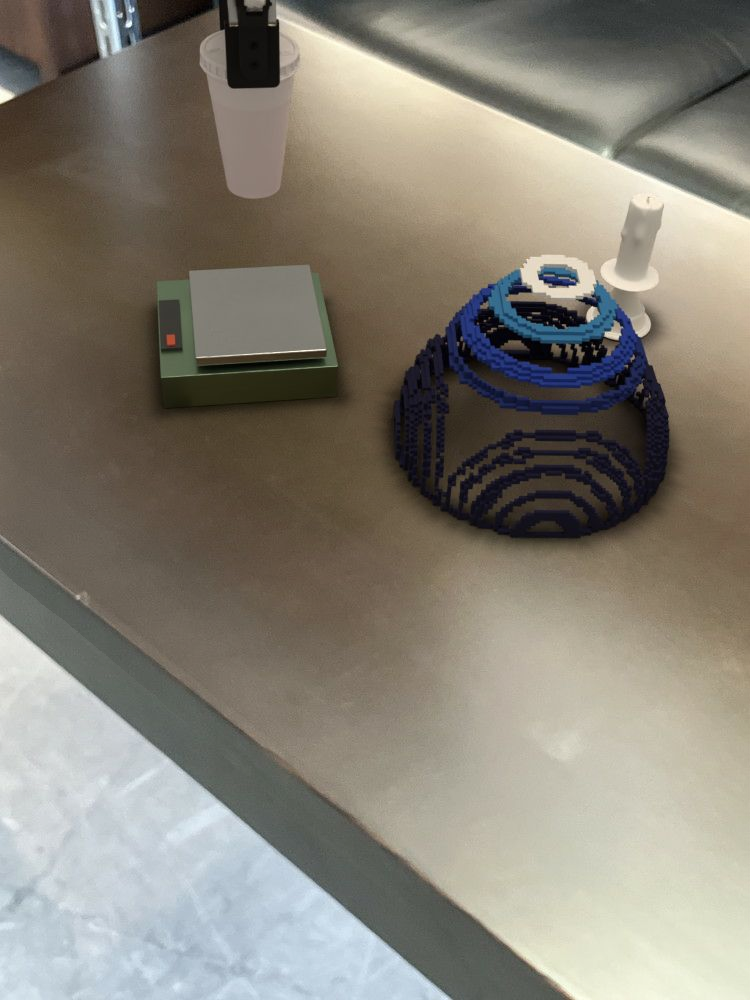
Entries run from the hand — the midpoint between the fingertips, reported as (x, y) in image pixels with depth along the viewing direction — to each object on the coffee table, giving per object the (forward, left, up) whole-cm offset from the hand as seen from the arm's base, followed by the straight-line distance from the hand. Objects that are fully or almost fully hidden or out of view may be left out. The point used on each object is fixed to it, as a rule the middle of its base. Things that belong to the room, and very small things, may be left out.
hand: (249, 57), depth 73 cm
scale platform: (0, +1, -21) cm, 21 cm away
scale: (-1, +1, -24) cm, 24 cm away
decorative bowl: (+19, -11, -24) cm, 33 cm away
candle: (+30, +2, -24) cm, 39 cm away
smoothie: (0, 0, -9) cm, 9 cm away
